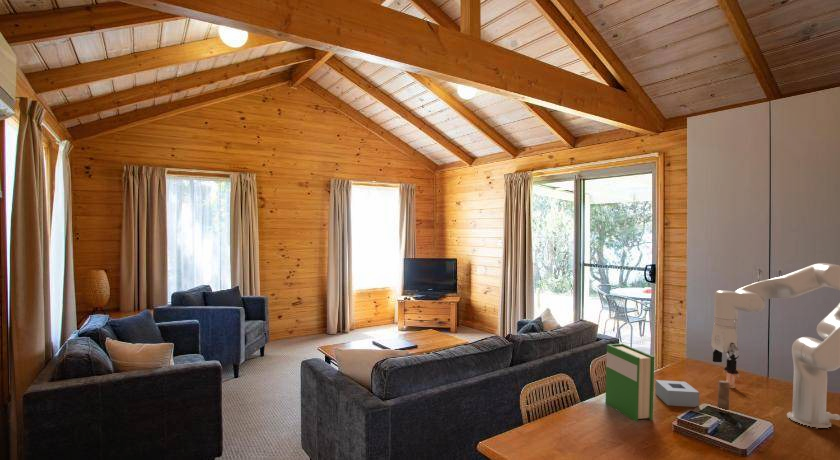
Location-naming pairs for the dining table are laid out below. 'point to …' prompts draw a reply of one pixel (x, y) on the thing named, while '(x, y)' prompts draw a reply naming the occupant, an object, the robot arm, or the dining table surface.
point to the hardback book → (630, 381)
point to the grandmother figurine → (731, 376)
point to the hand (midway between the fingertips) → (724, 365)
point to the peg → (723, 394)
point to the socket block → (677, 393)
